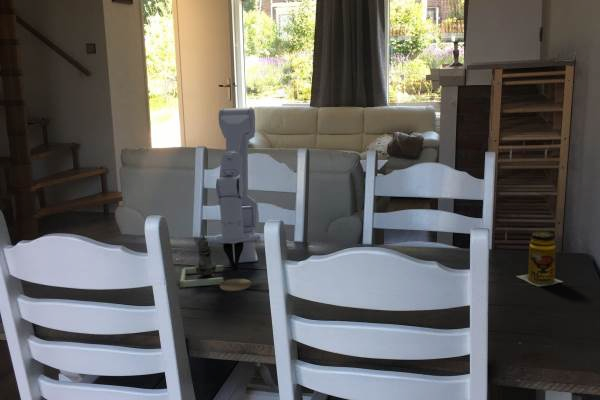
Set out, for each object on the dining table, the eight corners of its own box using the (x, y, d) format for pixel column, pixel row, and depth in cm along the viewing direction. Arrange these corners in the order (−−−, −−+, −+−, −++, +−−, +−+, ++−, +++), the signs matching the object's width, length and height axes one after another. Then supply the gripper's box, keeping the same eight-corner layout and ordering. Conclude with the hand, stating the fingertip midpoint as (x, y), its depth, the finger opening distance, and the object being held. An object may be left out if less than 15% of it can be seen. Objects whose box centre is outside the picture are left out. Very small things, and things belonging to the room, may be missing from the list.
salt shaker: (213, 282, 159) (210, 238, 157) (192, 281, 160) (188, 237, 158) (220, 275, 165) (217, 232, 162) (200, 274, 166) (196, 231, 163)
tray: (183, 273, 167) (182, 268, 167) (223, 270, 169) (222, 265, 168) (180, 287, 156) (180, 281, 156) (223, 283, 157) (223, 278, 157)
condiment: (539, 287, 146) (541, 239, 143) (515, 277, 154) (517, 231, 151) (563, 282, 148) (565, 235, 146) (538, 272, 156) (540, 227, 154)
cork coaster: (219, 281, 159) (219, 280, 159) (250, 279, 160) (250, 277, 160) (219, 292, 151) (219, 290, 151) (251, 289, 152) (251, 287, 152)
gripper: (203, 226, 156) (207, 276, 158) (260, 222, 157) (262, 272, 160) (204, 220, 162) (208, 268, 165) (258, 216, 164) (261, 264, 167)
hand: (234, 270), depth 163 cm, fingers closed
